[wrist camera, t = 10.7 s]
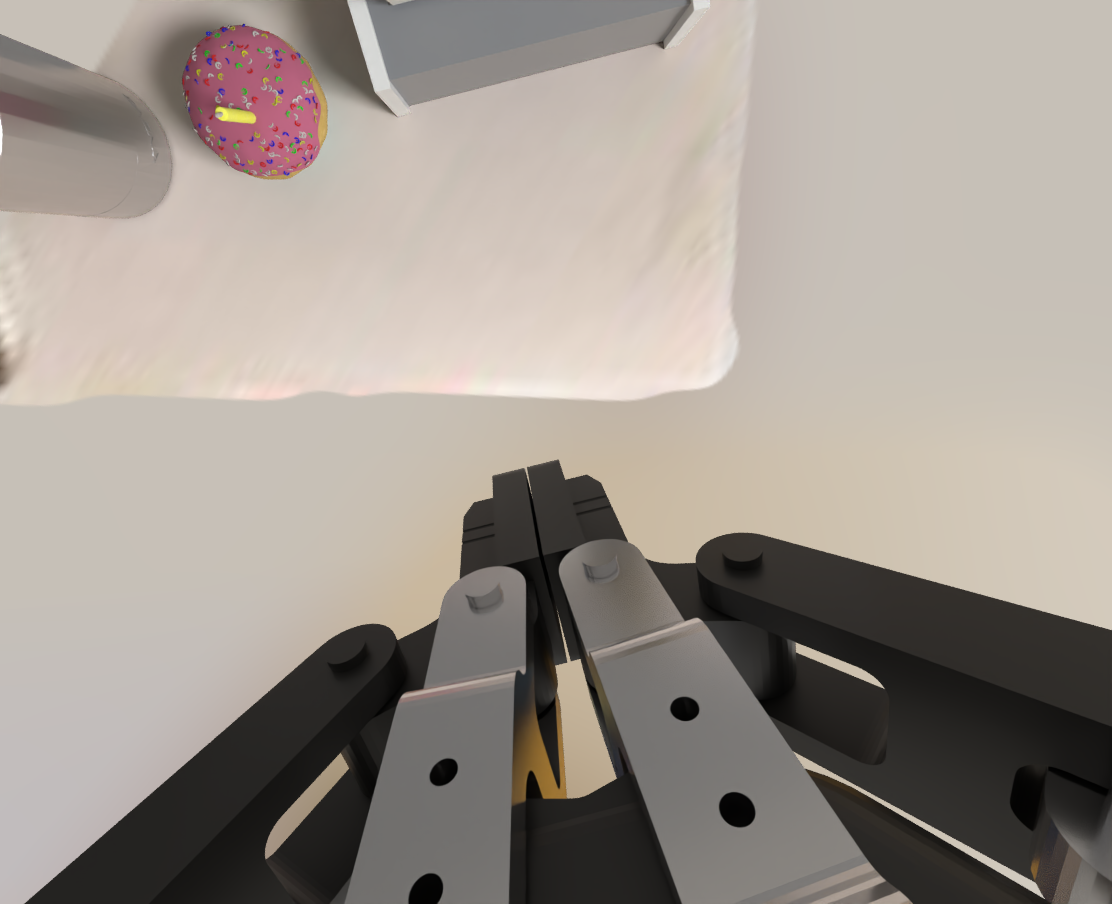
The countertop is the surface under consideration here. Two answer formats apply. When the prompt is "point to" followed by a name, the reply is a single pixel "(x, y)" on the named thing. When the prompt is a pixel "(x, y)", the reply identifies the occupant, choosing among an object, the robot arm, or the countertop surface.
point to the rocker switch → (396, 2)
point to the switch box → (501, 39)
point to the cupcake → (255, 102)
